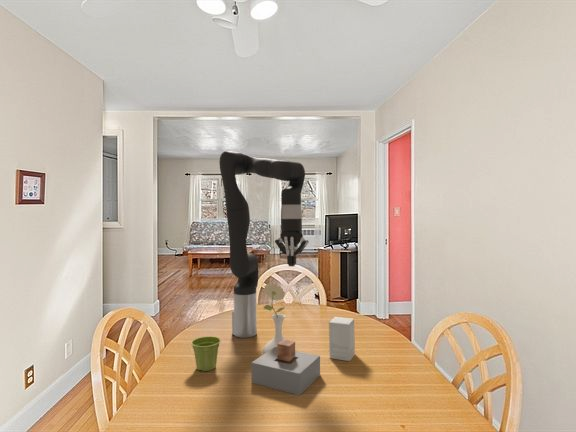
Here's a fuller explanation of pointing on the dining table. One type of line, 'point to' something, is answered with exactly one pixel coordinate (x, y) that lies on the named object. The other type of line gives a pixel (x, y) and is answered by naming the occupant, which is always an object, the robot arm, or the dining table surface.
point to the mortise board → (286, 371)
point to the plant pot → (206, 352)
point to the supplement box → (341, 338)
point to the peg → (286, 351)
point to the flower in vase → (274, 294)
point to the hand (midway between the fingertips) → (291, 266)
